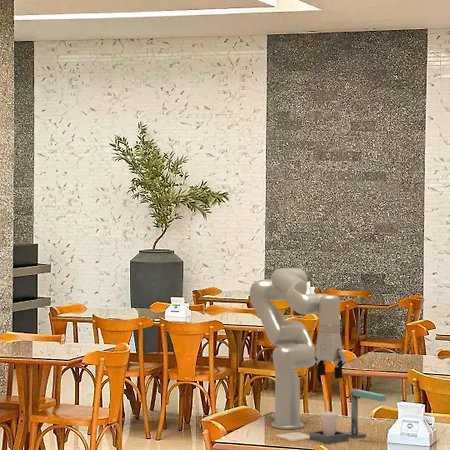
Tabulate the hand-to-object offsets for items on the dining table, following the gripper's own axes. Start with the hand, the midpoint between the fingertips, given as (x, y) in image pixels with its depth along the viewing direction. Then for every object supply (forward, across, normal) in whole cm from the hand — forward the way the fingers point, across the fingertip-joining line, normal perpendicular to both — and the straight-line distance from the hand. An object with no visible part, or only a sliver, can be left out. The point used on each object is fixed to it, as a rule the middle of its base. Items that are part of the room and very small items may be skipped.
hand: (329, 376), depth 363 cm
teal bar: (+8, +7, +12) cm, 16 cm away
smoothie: (+23, -1, 0) cm, 23 cm away
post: (+23, -1, +12) cm, 26 cm away
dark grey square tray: (+23, -1, 0) cm, 23 cm away
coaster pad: (+23, -11, -8) cm, 26 cm away
